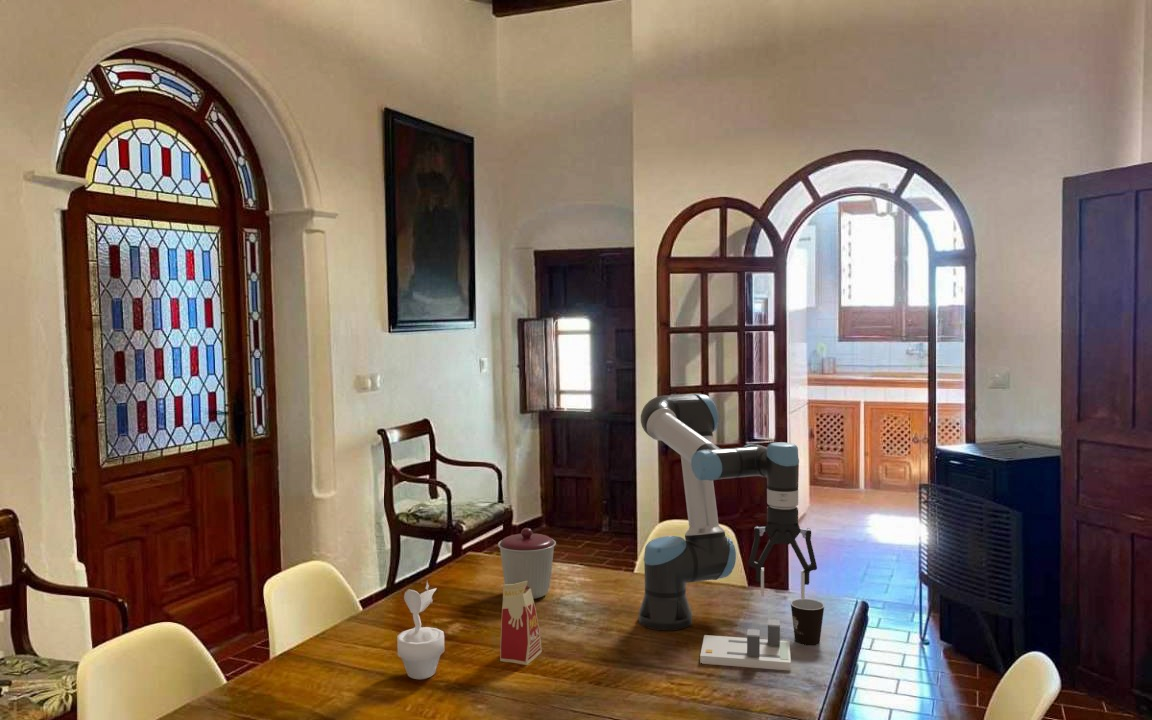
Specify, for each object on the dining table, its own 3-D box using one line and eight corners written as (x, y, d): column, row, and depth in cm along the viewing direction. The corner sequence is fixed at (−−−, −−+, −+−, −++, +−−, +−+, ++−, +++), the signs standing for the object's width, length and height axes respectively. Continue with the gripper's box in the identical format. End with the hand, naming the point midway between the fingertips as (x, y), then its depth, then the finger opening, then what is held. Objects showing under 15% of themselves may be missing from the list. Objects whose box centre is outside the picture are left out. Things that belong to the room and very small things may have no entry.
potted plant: (423, 689, 201) (421, 584, 200) (387, 678, 208) (385, 576, 206) (458, 669, 212) (456, 570, 211) (422, 660, 218) (420, 563, 217)
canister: (555, 604, 259) (554, 535, 258) (495, 604, 259) (494, 536, 258) (557, 585, 277) (556, 521, 276) (501, 585, 278) (500, 521, 276)
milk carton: (541, 651, 223) (540, 576, 222) (528, 665, 214) (527, 587, 213) (509, 647, 226) (508, 573, 225) (495, 661, 217) (493, 583, 216)
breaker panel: (700, 663, 214) (700, 654, 214) (704, 642, 228) (704, 634, 228) (790, 670, 210) (790, 661, 209) (789, 648, 223) (789, 640, 223)
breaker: (767, 645, 219) (767, 624, 219) (767, 639, 223) (767, 619, 223) (779, 646, 219) (779, 625, 218) (779, 640, 223) (779, 619, 222)
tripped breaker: (747, 656, 213) (747, 634, 212) (747, 649, 217) (747, 628, 216) (759, 656, 212) (759, 635, 212) (759, 650, 216) (759, 629, 216)
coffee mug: (825, 648, 223) (825, 610, 223) (791, 646, 225) (791, 608, 224) (821, 632, 234) (822, 596, 234) (789, 630, 236) (789, 594, 236)
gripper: (737, 507, 210) (737, 598, 211) (829, 511, 205) (829, 603, 206) (738, 501, 217) (738, 588, 218) (827, 504, 212) (827, 593, 213)
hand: (782, 595), depth 212 cm, fingers open, 9 cm apart
